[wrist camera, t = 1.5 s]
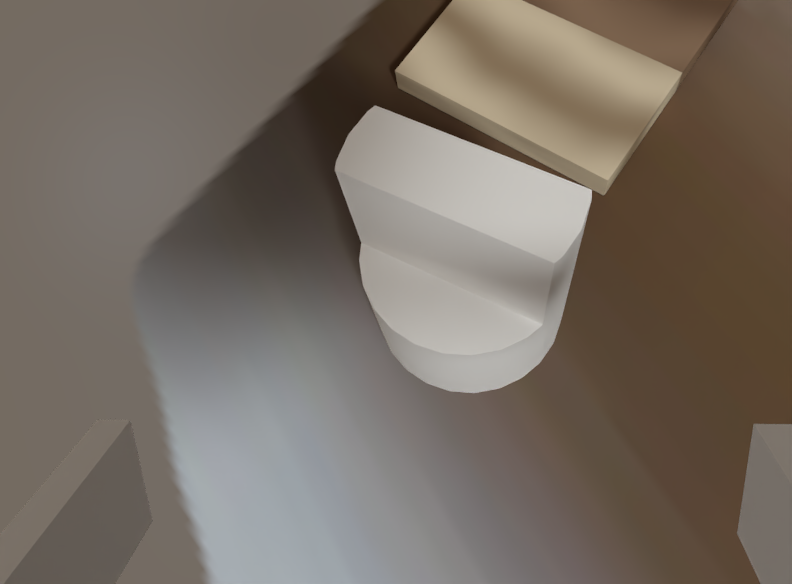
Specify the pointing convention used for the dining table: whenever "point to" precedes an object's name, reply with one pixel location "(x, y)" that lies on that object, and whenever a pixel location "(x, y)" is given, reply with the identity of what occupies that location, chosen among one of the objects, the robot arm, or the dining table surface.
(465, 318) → the base with upright slab
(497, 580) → the dining table surface
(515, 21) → the pine board
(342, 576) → the dining table surface
